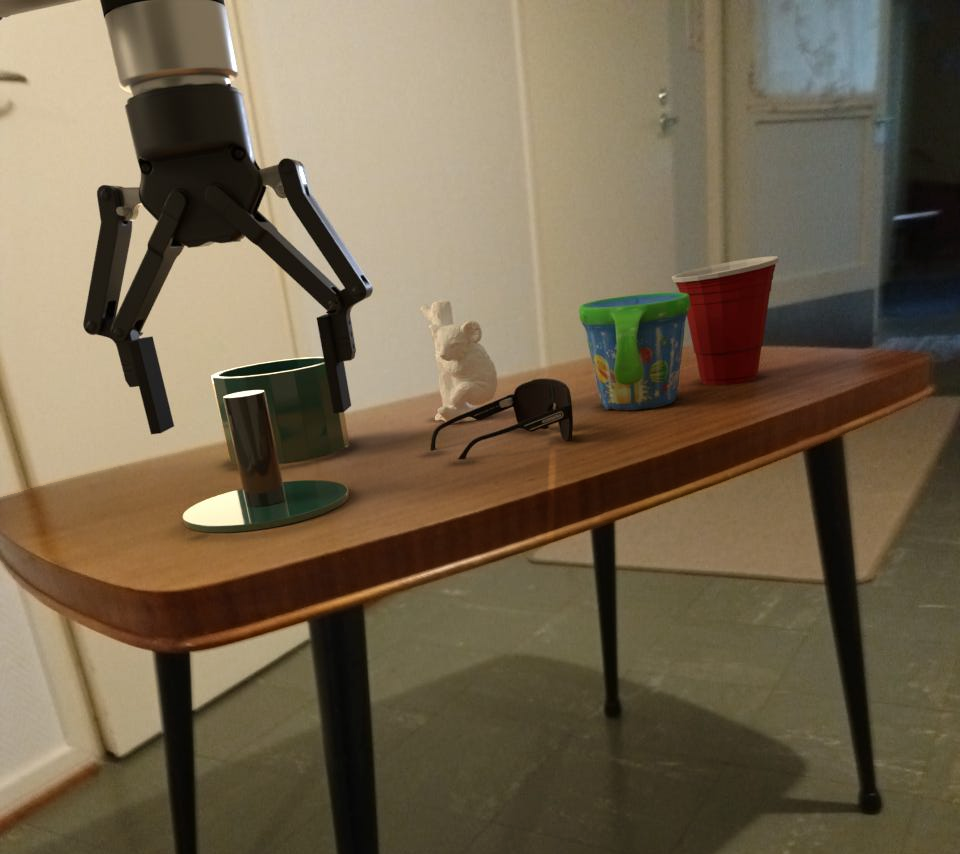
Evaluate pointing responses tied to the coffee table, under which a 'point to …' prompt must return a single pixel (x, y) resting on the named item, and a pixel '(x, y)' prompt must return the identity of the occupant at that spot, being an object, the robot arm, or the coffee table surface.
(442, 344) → the koala figurine
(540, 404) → the sunglasses
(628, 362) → the snack cup
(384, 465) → the coffee table surface
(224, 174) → the robot arm
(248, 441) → the lid
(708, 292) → the plastic cup
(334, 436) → the tin
